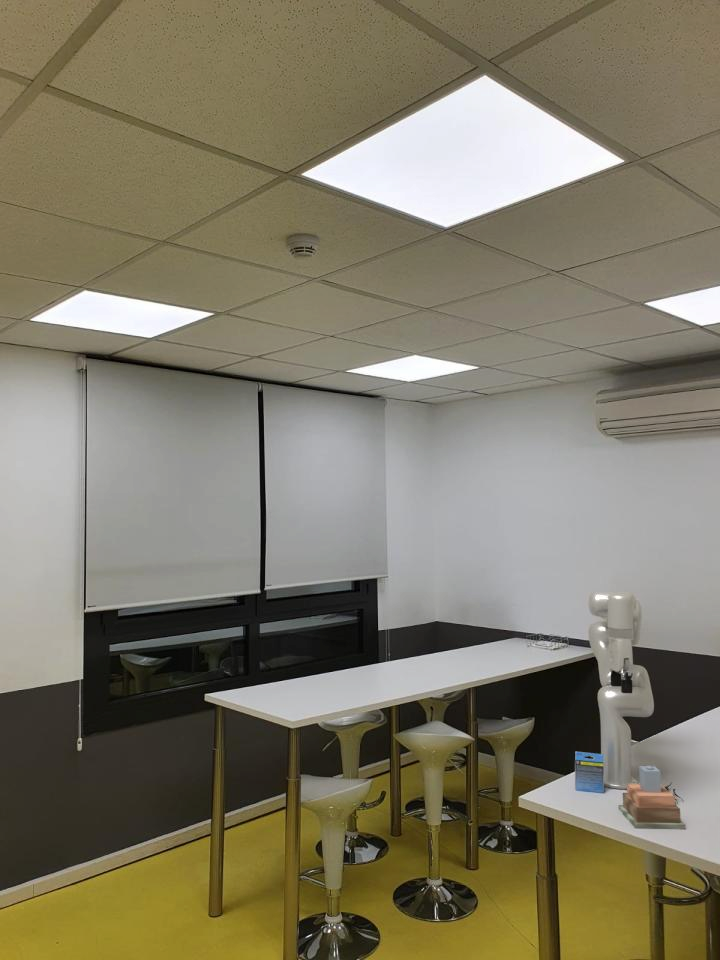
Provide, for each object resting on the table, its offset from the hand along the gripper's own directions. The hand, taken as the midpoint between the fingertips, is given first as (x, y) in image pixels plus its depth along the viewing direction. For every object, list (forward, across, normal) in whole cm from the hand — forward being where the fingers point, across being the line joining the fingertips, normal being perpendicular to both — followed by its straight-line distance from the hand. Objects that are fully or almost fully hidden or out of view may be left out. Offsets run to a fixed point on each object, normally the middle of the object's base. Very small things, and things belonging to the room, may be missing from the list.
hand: (621, 689), depth 226 cm
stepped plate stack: (+34, +12, +4) cm, 37 cm away
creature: (+35, -2, +15) cm, 38 cm away
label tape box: (+35, -11, -7) cm, 37 cm away
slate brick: (+26, +12, +4) cm, 29 cm away
